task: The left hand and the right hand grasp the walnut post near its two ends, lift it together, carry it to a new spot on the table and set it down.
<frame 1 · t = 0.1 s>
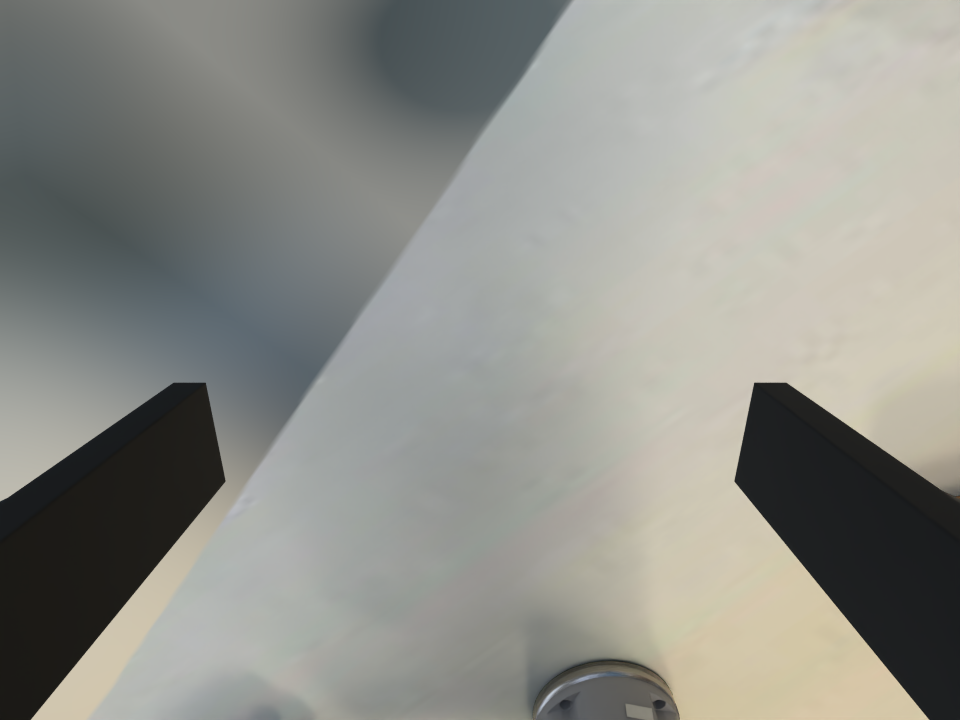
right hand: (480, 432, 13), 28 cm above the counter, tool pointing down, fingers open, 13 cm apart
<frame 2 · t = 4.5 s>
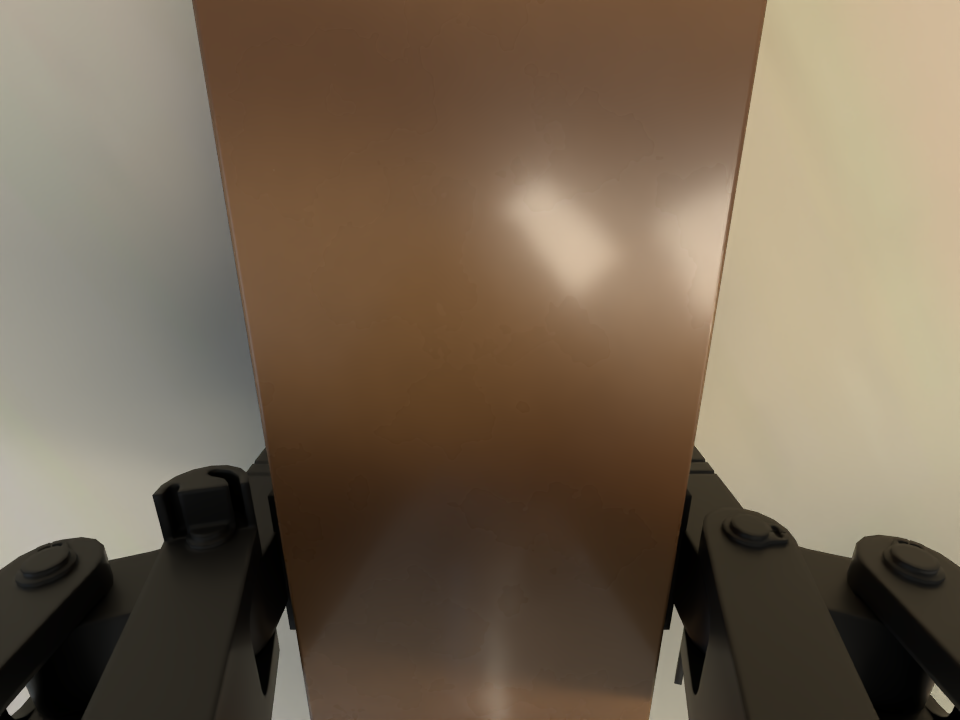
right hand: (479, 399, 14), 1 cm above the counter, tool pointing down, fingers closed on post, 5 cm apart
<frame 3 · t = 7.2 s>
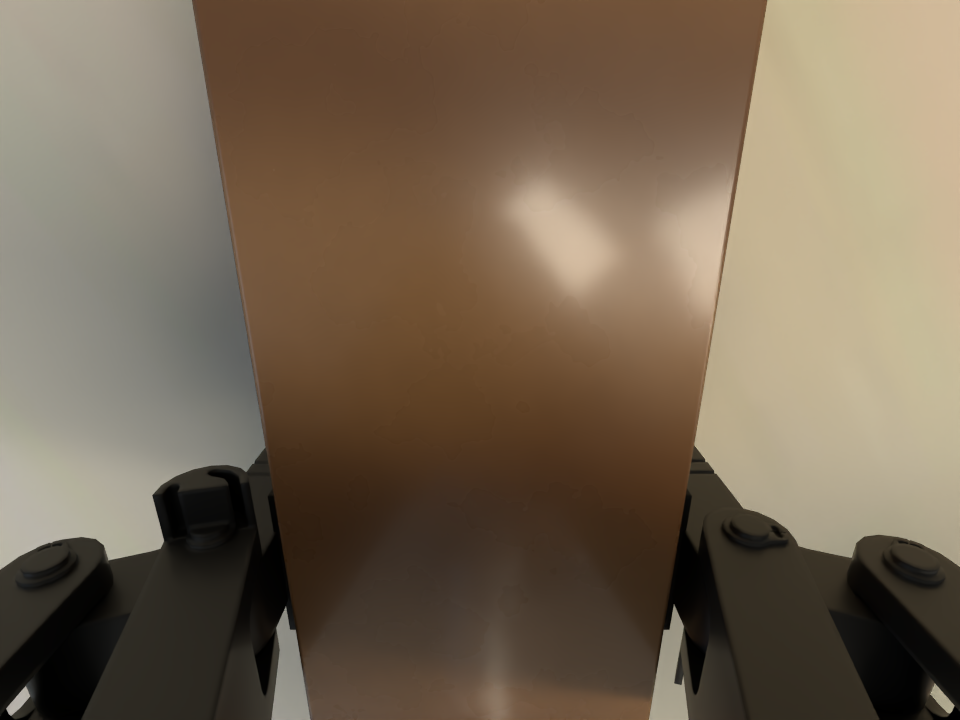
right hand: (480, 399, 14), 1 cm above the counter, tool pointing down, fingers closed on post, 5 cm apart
when the right hand's fingers open (2 cm above the counter, at t = 11.5 s): post drops 1 cm, on the counter.
when the left hand's fingers open (5 cm above the counter, at t = 11.7 s): post stays where it is, on the counter.
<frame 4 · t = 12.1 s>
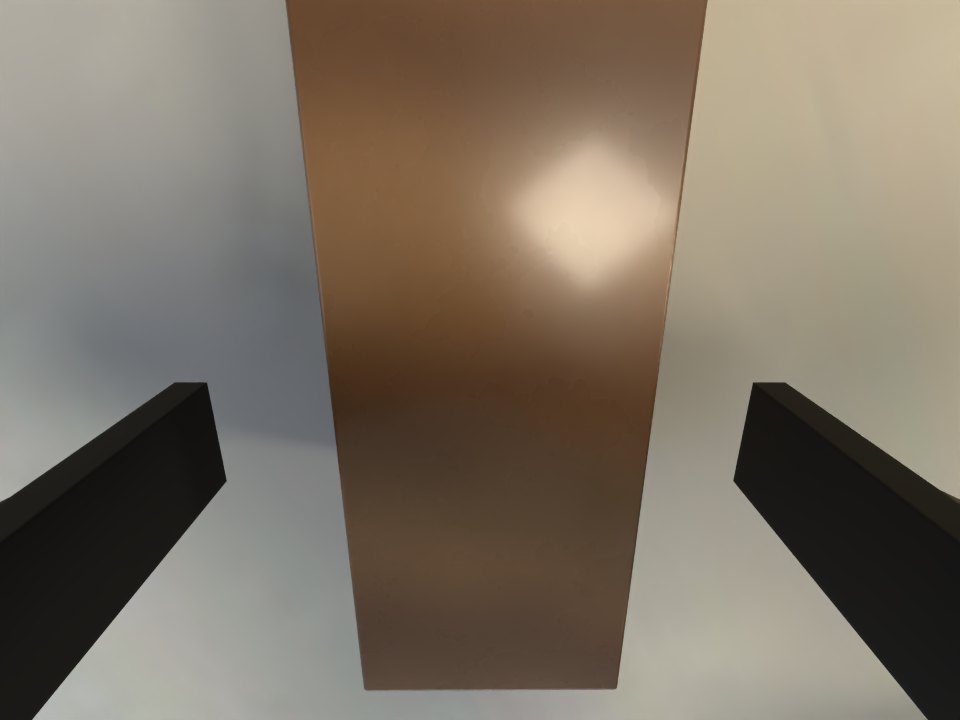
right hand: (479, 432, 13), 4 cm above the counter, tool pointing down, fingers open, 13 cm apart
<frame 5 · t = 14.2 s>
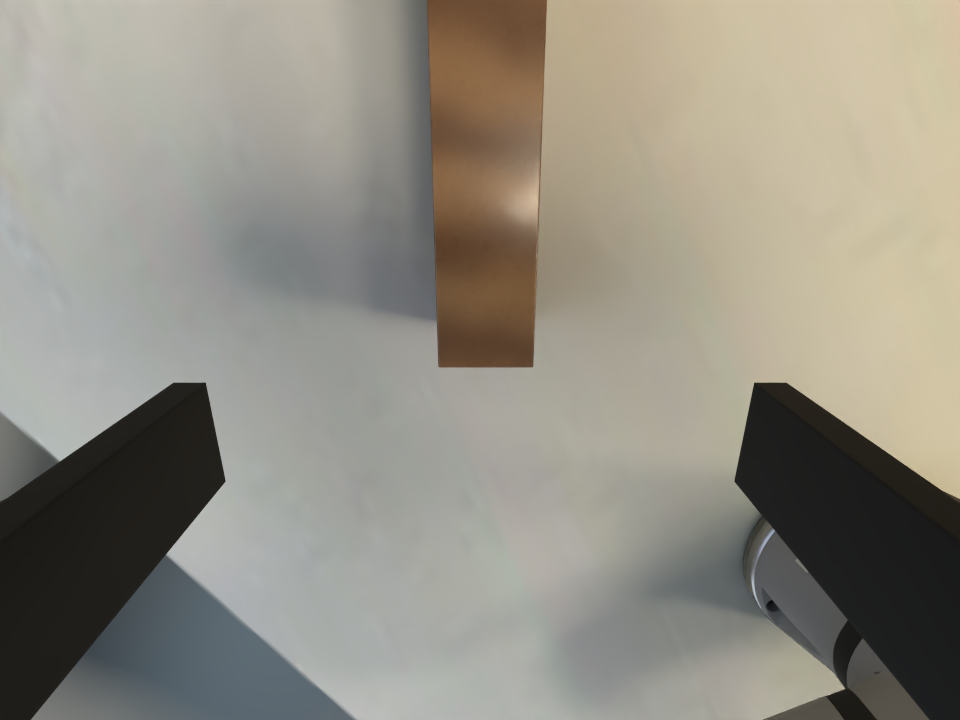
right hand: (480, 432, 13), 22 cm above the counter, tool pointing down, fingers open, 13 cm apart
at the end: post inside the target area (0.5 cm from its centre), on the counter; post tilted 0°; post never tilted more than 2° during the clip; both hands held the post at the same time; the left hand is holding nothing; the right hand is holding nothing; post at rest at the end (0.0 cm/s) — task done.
